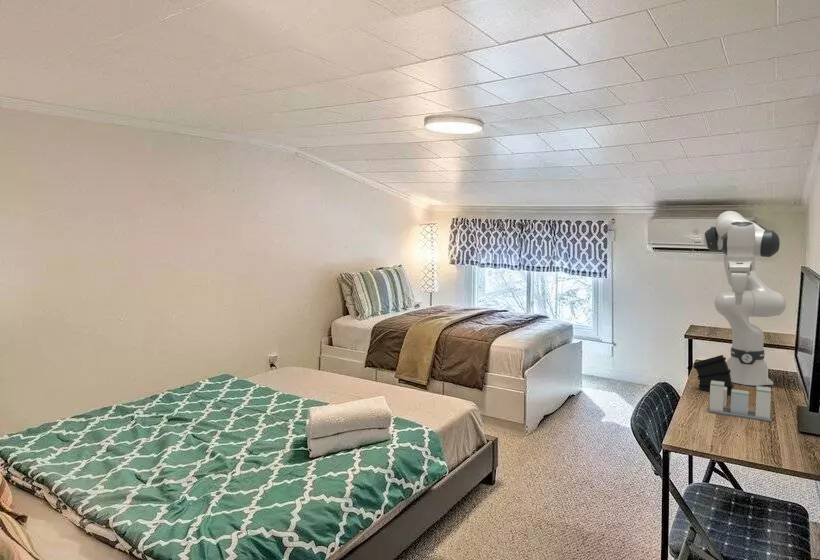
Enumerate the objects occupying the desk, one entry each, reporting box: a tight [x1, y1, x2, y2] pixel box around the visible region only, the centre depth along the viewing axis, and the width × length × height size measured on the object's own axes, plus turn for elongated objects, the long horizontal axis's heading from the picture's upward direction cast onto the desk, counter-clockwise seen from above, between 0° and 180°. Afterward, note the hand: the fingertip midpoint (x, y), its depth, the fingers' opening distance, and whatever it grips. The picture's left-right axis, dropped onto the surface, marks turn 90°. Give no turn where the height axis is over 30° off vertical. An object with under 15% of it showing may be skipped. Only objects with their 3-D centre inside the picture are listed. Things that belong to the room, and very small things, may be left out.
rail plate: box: [707, 404, 773, 423], centre depth 178 cm, size 18×7×1 cm, turn 56°
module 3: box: [755, 385, 772, 419], centre depth 174 cm, size 4×5×10 cm
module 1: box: [708, 380, 725, 411], centre depth 181 cm, size 4×5×10 cm
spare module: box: [724, 387, 728, 407], centre depth 190 cm, size 5×4×6 cm
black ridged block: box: [693, 354, 734, 396], centre depth 204 cm, size 4×13×15 cm, turn 49°
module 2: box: [730, 388, 750, 415], centre depth 178 cm, size 5×4×8 cm
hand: (738, 303), depth 189 cm, fingers open, 8 cm apart
